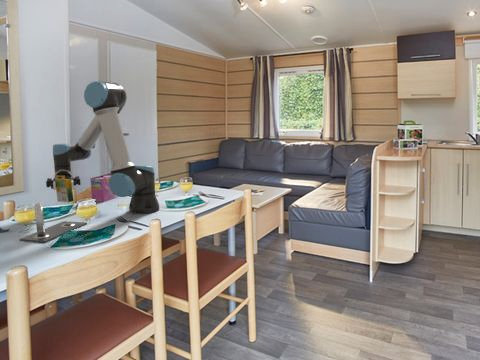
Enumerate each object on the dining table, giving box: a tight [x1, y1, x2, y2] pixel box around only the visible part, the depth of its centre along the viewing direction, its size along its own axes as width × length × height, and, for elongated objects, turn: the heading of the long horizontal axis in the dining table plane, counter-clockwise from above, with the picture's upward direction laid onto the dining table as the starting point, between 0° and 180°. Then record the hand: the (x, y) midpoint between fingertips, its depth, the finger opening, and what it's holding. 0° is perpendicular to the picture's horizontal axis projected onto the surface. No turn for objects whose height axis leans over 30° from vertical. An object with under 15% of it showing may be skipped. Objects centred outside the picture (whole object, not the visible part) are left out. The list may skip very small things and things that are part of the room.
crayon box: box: [53, 174, 74, 203], centre depth 169 cm, size 7×3×12 cm, turn 60°
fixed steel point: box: [34, 202, 46, 237], centre depth 155 cm, size 3×3×13 cm
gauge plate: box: [18, 220, 88, 244], centre depth 164 cm, size 12×26×1 cm, turn 166°
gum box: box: [90, 172, 119, 203], centre depth 230 cm, size 24×8×14 cm, turn 163°
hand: (63, 186), depth 165 cm, fingers closed on crayon box, 6 cm apart
